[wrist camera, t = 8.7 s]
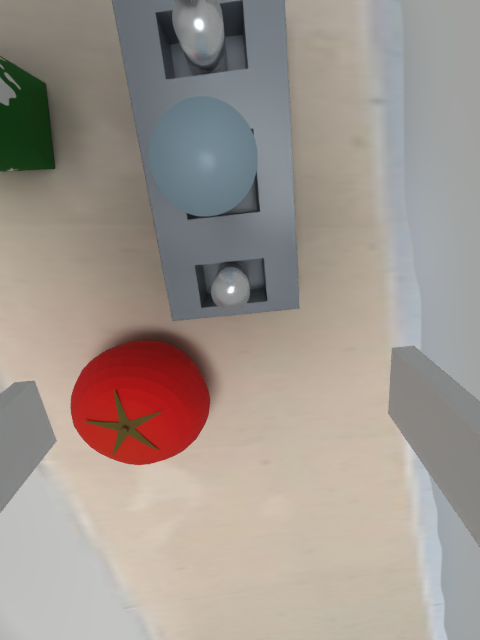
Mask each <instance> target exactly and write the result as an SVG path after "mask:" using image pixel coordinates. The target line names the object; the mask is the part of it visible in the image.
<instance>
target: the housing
mask: <svg viewBox="0 0 480 640" xmlns="http://www.w3.org/2000/svg"><path fill="white" fill-rule="evenodd" d="M175 1H176V0H112V4H113V9H114V14H115V19H116V25H117V30H118V35H119V41H120V46H121V51H122V56H123V62H124V67H125V72H126V78H127V83H128V88H129V93H130V99H131V104H132V109H133V115H134V120H135V125H136V130H137V136H138V141H139V146H140V152H141V157H142V162H143V168H144V173H145V178H146V183H147V189H148V194H149V199H150V205H151V210H152V215H153V220H154V226H155V231H156V236H157V242H158V247H159V252H160V257H161V263H162V268H163V273H164V279H165V284H166V289H167V294H168V300H169V305H170V310H171V316H172V321H177V320H187V319H197V318H208V317H218V316H228V315H238V314H248V313H258V312H268V311H279V310H289V309H299V288H298V267H297V246H296V225H295V205H294V184H293V163H292V142H291V122H290V101H289V80H288V59H287V38H286V18H285V0H218V2H219V4H220V7H221V10H222V17H223V25H224V34H225V43H226V52H227V70H226V72H219V73H211V74H204V75H196V76H193V74H192V73H191V70H190V68H189V65H188V63H187V60H186V58H185V55H184V53H183V50H182V48H181V45H180V43H179V40H178V38H177V35H176V33H175V30H174V27H173V22H172V12H173V7H174V4H175ZM196 96H206V97H213V98H216V99H219V100H222V101H224V102H226V103H227V104H229V105H231V106H232V107H233V108H235V109H236V110H237V111H238V112H239V113H240V114H241V115H242V116H243V117H244V119H245V120H246V122H247V123H248V125H249V127H250V128H251V130H252V133H253V135H254V138H255V142H256V146H257V153H258V163H257V171H256V176H255V179H254V182H253V184H252V186H251V188H250V190H249V192H248V193H247V195H246V196H245V198H244V199H243V200H242V201H241V202H240V203H239V204H238V205H237V206H235V207H234V208H232V209H231V210H229V211H227V212H225V213H222V214H219V215H215V216H205V217H204V216H196V215H191V214H189V213H186V212H184V211H182V210H180V209H178V208H177V207H175V206H174V205H173V204H171V203H170V202H169V201H168V200H167V199H166V198H165V196H164V195H163V194H162V193H161V191H160V190H159V188H158V186H157V184H156V182H155V180H154V177H153V175H152V171H151V167H150V160H149V149H150V142H151V137H152V134H153V131H154V129H155V126H156V125H157V123H158V121H159V119H160V118H161V117H162V115H163V114H164V113H165V112H166V111H167V110H168V109H169V108H170V107H172V106H173V105H174V104H176V103H178V102H179V101H181V100H184V99H187V98H191V97H196ZM231 261H241V262H243V263H244V264H245V265H246V267H247V269H248V272H249V285H250V296H249V300H248V301H247V303H246V304H245V305H244V306H243V307H242V308H240V309H238V310H235V311H227V310H223V309H221V308H219V307H218V306H217V305H216V304H215V303H214V301H213V299H212V296H211V288H212V285H213V282H214V279H215V277H216V274H217V271H218V269H219V267H220V265H221V264H222V263H223V262H231Z"/></svg>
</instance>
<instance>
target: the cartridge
mask: <svg viewBox="0 0 480 640" xmlns="http://www.w3.org/2000/svg"><path fill="white" fill-rule="evenodd" d="M149 160H150V167H151V171H152V175H153V177H154V180H155V182H156V184H157V186H158V188H159V190H160V191H161V193H162V194H163V195H164V196H165V198H166V199H167V200H168V201H169V202H170V203H171V204H173V205H174V206H175V207H177V208H178V209H180V210H182V211H184V212H186V213H189V214H191V215H196V216H204V217H205V216H215V215H219V214H222V213H225V212H227V211H229V210H231V209H232V208H234V207H235V206H237V205H238V204H239V203H240V202H241V201H242V200H243V199H244V198H245V196H246V195H247V193H248V192H249V190H250V188H251V186H252V184H253V182H254V179H255V176H256V171H257V163H258V153H257V146H256V142H255V138H254V135H253V133H252V130H251V128H250V127H249V125H248V123H247V122H246V120H245V119H244V117H243V116H242V115H241V114H240V113H239V112H238V111H237V110H236V109H235V108H233V107H232V106H231V105H229V104H227V103H226V102H224V101H222V100H219V99H216V98H213V97H206V96H196V97H191V98H187V99H184V100H181V101H179V102H178V103H176V104H174V105H173V106H172V107H170V108H169V109H168V110H167V111H166V112H165V113H164V114H163V115H162V117H161V118H160V119H159V121H158V123H157V125H156V126H155V129H154V131H153V134H152V137H151V142H150V149H149Z"/></svg>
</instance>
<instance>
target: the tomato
mask: <svg viewBox="0 0 480 640" xmlns="http://www.w3.org/2000/svg"><path fill="white" fill-rule="evenodd" d="M209 407H210V397H209V392H208V389H207V386H206V384H205V381H204V379H203V377H202V375H201V373H200V371H199V370H198V368H197V366H196V365H195V364H194V363H193V362H192V361H191V359H190V358H189V357H187V356H186V355H185V354H184V353H183V352H181V351H180V350H179V349H177V348H175V347H173V346H172V345H169V344H166V343H163V342H160V341H152V340H143V341H133V342H129V343H125V344H122V345H119V346H116V347H114V348H111V349H109V350H106V351H105V352H103V353H102V354H100V355H99V356H97V357H96V358H94V359H93V360H92V361H90V362H89V363H88V364H87V365H86V367H85V368H84V369H83V370H82V372H81V374H80V376H79V377H78V379H77V382H76V384H75V386H74V389H73V392H72V396H71V415H72V419H73V424H74V427H75V428H76V430H77V431H78V433H79V435H80V436H81V437H82V438H83V440H84V441H85V442H86V443H87V444H88V445H89V446H90V447H91V448H93V449H94V450H96V451H97V452H99V453H101V454H103V455H105V456H107V457H109V458H111V459H114V460H117V461H119V462H123V463H127V464H134V465H144V464H151V463H155V462H159V461H162V460H165V459H168V458H170V457H173V456H175V455H177V454H178V453H180V452H182V451H184V450H185V449H186V448H187V447H188V446H189V445H190V444H191V443H192V442H193V441H195V440H196V438H197V437H198V435H199V434H200V432H201V430H202V429H203V427H204V425H205V423H206V420H207V418H208V414H209Z"/></svg>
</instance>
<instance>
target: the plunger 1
mask: <svg viewBox="0 0 480 640" xmlns="http://www.w3.org/2000/svg"><path fill="white" fill-rule="evenodd" d="M172 22H173V27H174V30H175V33H176V35H177V38H178V40H179V43H180V45H181V48H182V50H183V53H184V55H185V58H186V60H187V63H188V65H189V68H190V70H191V73H192V74H193V76H196V75H204V74H211V73H219V72H226V70H227V52H226V43H225V34H224V25H223V17H222V10H221V7H220V4H219V2H218V0H176V1H175V4H174V7H173V12H172Z"/></svg>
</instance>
